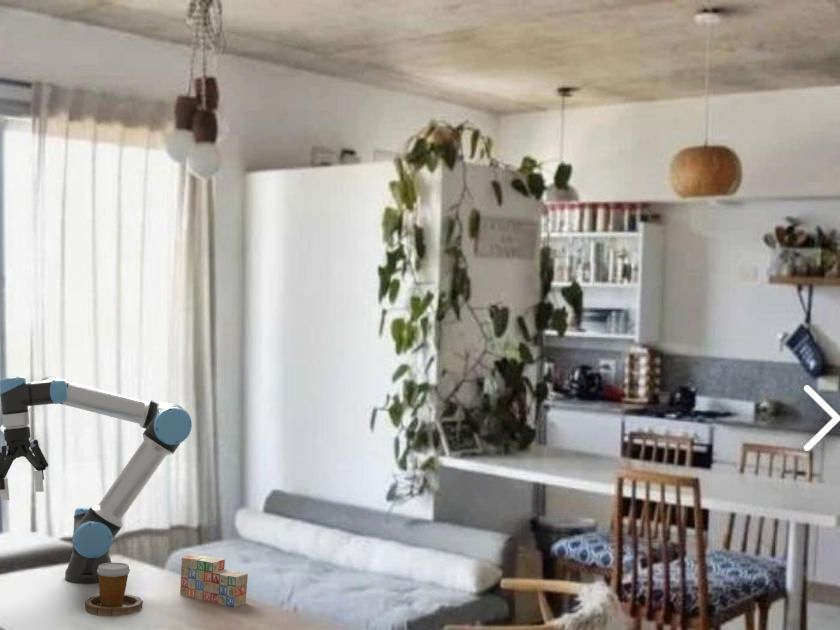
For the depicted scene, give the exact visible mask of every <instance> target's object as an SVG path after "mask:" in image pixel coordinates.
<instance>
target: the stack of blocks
mask: <svg viewBox="0 0 840 630" xmlns="http://www.w3.org/2000/svg"><path fill="white" fill-rule="evenodd" d="M225 563H226V558H225V559H224V558H218V557H215V556H208V555H203V554H197V553H193V554H189V555H186V556H183V557H181V568H180V586H179V587H180V589H179V590H180V591H179V596H180V595H181V596H180V597H185V598H190V599H193V598H194V600H198V601H203V602H204V601H205V602H209V603H213V604H217V605H222V606H227V607H232V608H234V607H235V608H236V607H238V606H242V605H245V604H247V592H248V591H247V590H248V589H247V588H248V576H249V575H248V574H249V573H246V572H241V571H236V570H231V569H226V568H225Z"/></svg>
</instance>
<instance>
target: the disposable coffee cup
mask: <svg viewBox="0 0 840 630" xmlns="http://www.w3.org/2000/svg"><path fill="white" fill-rule="evenodd" d="M130 571H131V569H130V567H129V564H127V563H124V562H111V563H104V564H101V565H99V567H98V569H97V572H98V575H99V583H98V587H99V595H100V603H99V606H100V607H123V604H124V602H123V600H124V594H126V589H127V588H126V587H127V583H128V577H129V574H130Z"/></svg>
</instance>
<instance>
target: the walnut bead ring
mask: <svg viewBox="0 0 840 630" xmlns="http://www.w3.org/2000/svg"><path fill="white" fill-rule="evenodd" d="M123 603H127V604H129V605H126V606H125V605H124V606H122V607H101V606H100V594H99V595H94V596H90V597H89V598H88V599H85V601H84V610H85V611H86V612H87V613H89V614H93V615H97V616H107V617H109V616H110V617H111V616H113V617H114V616H126V615H130V614H134V613H135V614H136V613H139V612H140V611H141V610H140V609H141V608H142V609H143V606H144V605H143V603H144V602H143V599H141V597H139V596H136V595H132V594H128V593H127V594H126V593H125V594H124V600H123Z"/></svg>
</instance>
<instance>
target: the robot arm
mask: <svg viewBox="0 0 840 630" xmlns="http://www.w3.org/2000/svg"><path fill="white" fill-rule="evenodd" d="M58 404H59V405H64V406H68V407H70V408H71V407H72V408H75V409H80V410H83V411H88V412H91V413H96V414H99V415H103V416H107V417H110V418H114V419H119V420H122V421H127V422H129V423H134V424H138V425H139V426H140V427H141V428H142V429H145V430H144V431H143V433H142V438H143V440H142V442H141V444H140V445H139V446H138V448H137V449H136V451H135V452H134V453H133V455H132V456H131V458H130V459H129V461H128V462H127V463H126V465H125V467H124V468H123V469H122V470H121V472H120V473H119V475H118V476H117V478H116V479H115V480H114V482H113V484H111V486H110V488H109V489H108V490H107V492H106V493H105V495H104V496H103V497H102V499H100V502H99V503H98V504H94V505H91V506H88V507H77V508H76V509H75V510H74V515H73V519H74V520H73V533H72V534H73V535H72V539H71V541H72V551H71V557H70V560H69V562H68V566H67V568H66V569H65V572H64V573H65V574H64V576H65V577H64V579H65V580H66V581H69V582H71V583H75V584H76V583H77V584H97V583H98V584H99V575H98V572H97V569H98V567H99V565H101V564H104V563H112V560H111V556H110V549H111V547H112V545H113V541H114V539H115V538H116V536H117V535H118V533H119V532H120V530H121V529H122V528H123V521H122V520H123V518H124V516H125V515H126V513H127V512H128V510H130V508H131V506H132V505H133V504H134V503H135V501H136V499H137V498H138V496H139V495H140V493H142V491H143V490H144V488H145V487H146V485H147V483H148V482H149V481H150V480H151V478H152V476H153V475H154V473H155V472H156V471H157V469H158V468H159V466H160V465H161V464H162V463H163V461H164V459H165V458H166V456H169V455H174V454H175V452H176V451H177V449H178V448H179V446H180V445H181V444H182V443H183V442H184V441H186V439H187V438H188V437H189V435H190V434H191V432H192V431H191V430H192V419H191V416H190V414H189V412H188V411H187V410H185V409H184V407H183V406H181V405H179V404H176V403H173V402H172V403H171V402H164V401H157V400H153V399H148V400H146V401H145V400H140V399H137V398H133V397H130V396H129V397H128V396H125V395H120V394H117V393H112V392H109V391H106V390H101V389H99V388H94V387H90V386H85V385H82V384H78V383H74V382H70V381H67V380H66V379H64V378H57V377H54V376H45V377H43V378H42V379H40V380H37V381H27V380H26V377H25V376H22V375H21V376H14V377H13V376H12V377H4V378H1V379H0V405H1V414H2V416H1V417H2V427H3V428H5V429H4V430H3V436H4V437H3V438H4V441H5V442H6V443H5V444H6V445H0V501H10V494H9V492H10V491H9V479H8V478H6V476H7V475H8V472H9V470H10V468H11V466H12V465H13V462H14V461H15V460H16V459H17V458H22V457H24V458H25V459H26V460H27V461H28V462H29V463H30V464H31V465H32V467H33V468H34V469H35V470H33V474H34V475H33V478H34V486H35V487H34V489H35V493H37V492H38V493H43V492H44V491H45V490H44V489H45V488H44V480H45V478H44V477H45V475H44V471H45V470H47V468H48V467H49V463H48V461H47V459H46V457H45V455H44V453H43V451H42V449H41V448H40V445H39V441H38V439H31V428H30V427H29V425H30V418H29V417H30V415H29V407H34V406H43V405H44V406H45V405H58Z"/></svg>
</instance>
